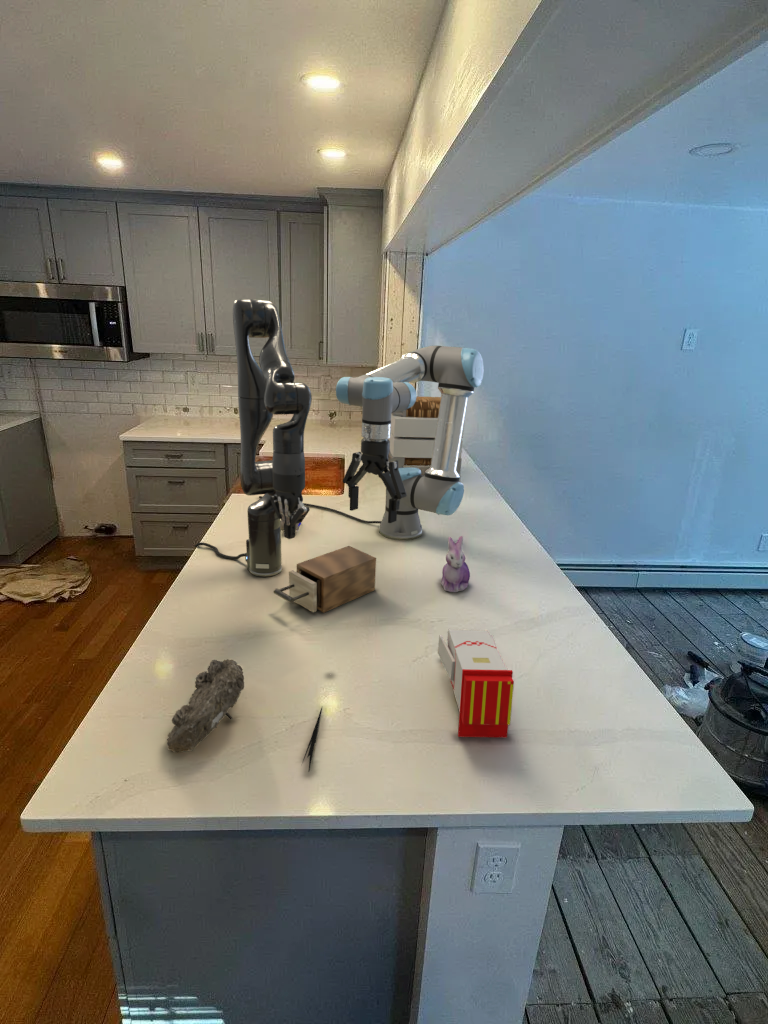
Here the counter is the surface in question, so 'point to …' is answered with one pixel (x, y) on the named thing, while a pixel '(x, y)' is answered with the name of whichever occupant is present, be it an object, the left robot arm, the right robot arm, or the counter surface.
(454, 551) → the figurine
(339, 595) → the cabinet
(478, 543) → the counter surface
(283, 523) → the black toy vehicle
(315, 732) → the feather
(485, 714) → the toy
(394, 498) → the right robot arm
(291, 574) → the drawer
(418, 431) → the white slatted crate
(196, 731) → the fossil
